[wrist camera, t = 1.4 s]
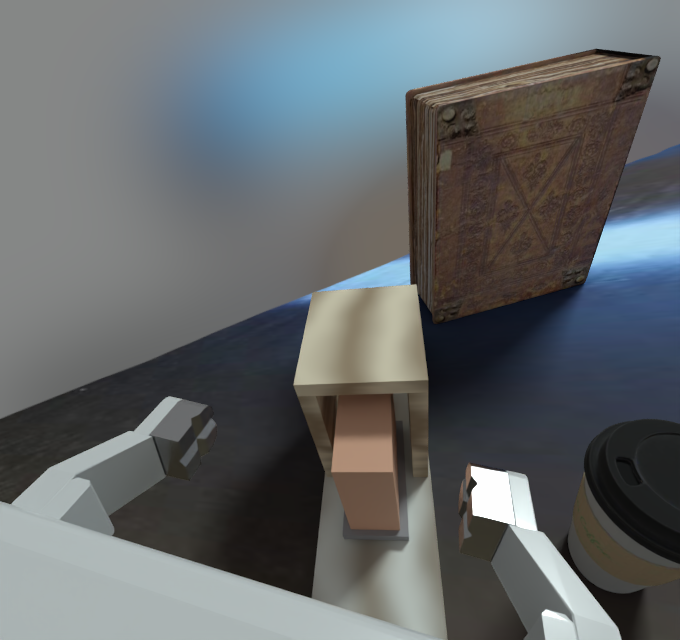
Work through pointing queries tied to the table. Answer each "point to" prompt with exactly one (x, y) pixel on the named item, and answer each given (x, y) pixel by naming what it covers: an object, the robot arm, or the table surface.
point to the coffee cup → (629, 507)
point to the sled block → (370, 468)
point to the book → (517, 176)
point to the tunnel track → (412, 408)
